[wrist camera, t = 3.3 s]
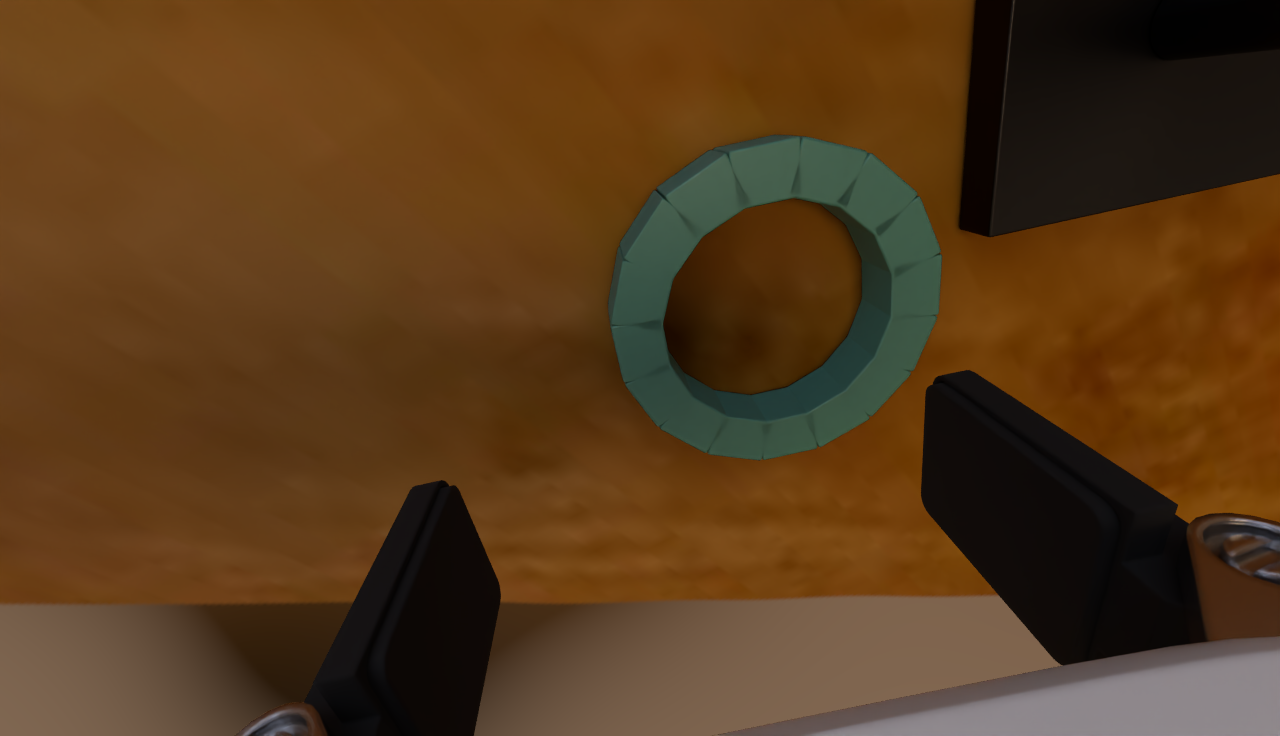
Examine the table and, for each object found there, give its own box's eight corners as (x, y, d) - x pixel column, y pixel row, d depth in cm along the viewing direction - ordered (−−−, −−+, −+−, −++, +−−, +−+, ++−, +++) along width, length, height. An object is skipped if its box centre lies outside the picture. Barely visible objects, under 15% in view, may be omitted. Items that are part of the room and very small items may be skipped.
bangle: (642, 454, 20) (647, 486, 19) (577, 177, 16) (576, 184, 14) (902, 397, 21) (932, 423, 19) (910, 104, 16) (952, 103, 14)
